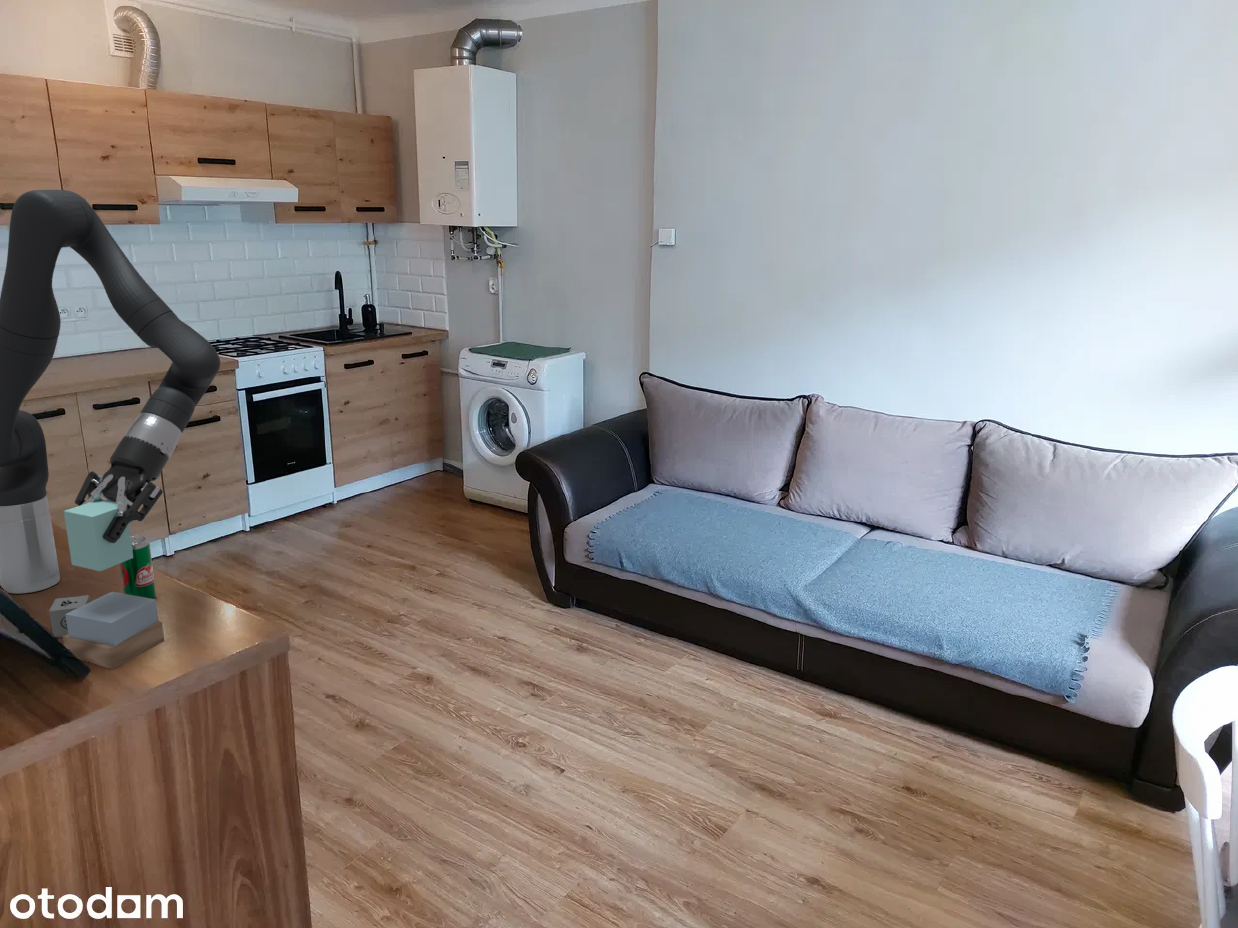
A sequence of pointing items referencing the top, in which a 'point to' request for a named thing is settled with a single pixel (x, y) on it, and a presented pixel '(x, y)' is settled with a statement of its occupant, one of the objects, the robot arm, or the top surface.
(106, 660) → the walnut block
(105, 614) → the slate block
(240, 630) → the top surface
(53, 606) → the dice cube
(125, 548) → the teal square block
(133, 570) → the soda can
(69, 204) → the robot arm
